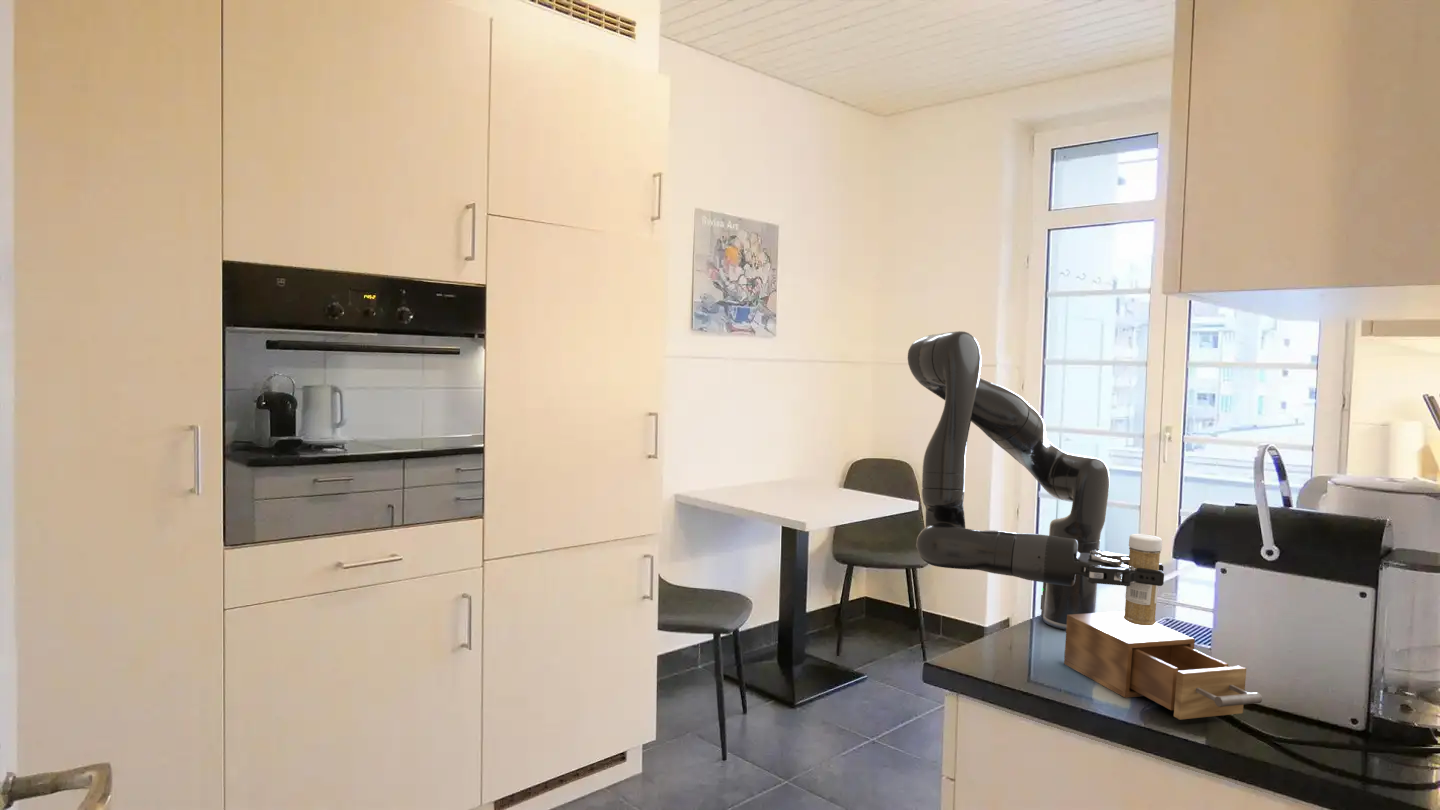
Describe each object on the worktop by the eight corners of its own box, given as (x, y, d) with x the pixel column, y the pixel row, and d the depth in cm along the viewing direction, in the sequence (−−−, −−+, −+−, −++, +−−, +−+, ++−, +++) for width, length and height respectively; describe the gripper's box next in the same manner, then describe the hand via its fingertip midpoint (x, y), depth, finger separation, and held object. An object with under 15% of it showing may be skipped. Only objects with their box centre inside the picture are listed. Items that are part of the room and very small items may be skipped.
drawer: (1272, 727, 125) (1276, 681, 125) (1207, 734, 122) (1210, 687, 122) (1172, 678, 143) (1175, 637, 142) (1113, 684, 140) (1116, 642, 139)
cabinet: (1191, 691, 140) (1195, 638, 139) (1124, 697, 137) (1128, 643, 136) (1125, 659, 154) (1128, 610, 153) (1063, 663, 151) (1067, 614, 150)
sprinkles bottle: (1161, 624, 136) (1168, 537, 135) (1144, 628, 133) (1151, 540, 132) (1133, 615, 139) (1140, 531, 138) (1116, 619, 137) (1123, 534, 136)
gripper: (1041, 544, 135) (1166, 560, 128) (1050, 527, 148) (1164, 541, 141) (1038, 592, 136) (1162, 611, 128) (1047, 571, 148) (1160, 588, 141)
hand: (1162, 575), depth 135 cm, fingers closed on sprinkles bottle, 4 cm apart
